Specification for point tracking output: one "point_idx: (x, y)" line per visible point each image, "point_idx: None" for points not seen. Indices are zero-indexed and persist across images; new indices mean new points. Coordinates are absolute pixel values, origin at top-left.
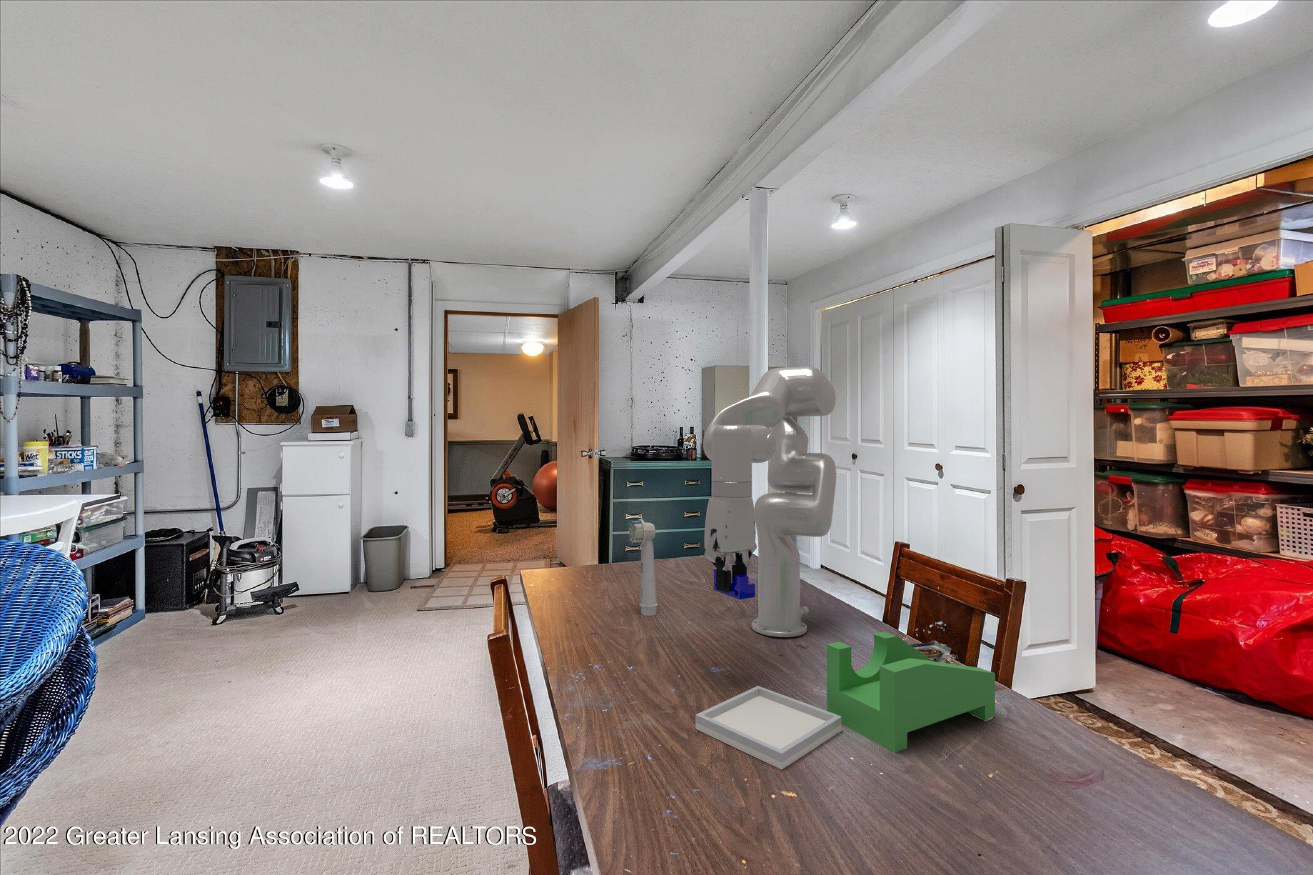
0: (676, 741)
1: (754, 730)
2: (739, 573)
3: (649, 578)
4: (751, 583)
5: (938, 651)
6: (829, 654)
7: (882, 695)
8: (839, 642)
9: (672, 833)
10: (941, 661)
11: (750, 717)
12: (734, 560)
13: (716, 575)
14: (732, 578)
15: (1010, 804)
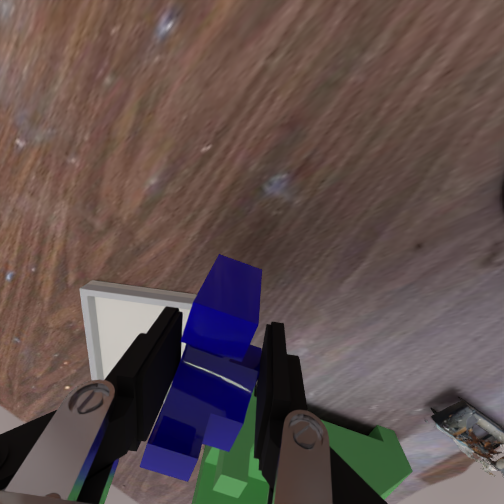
0: (54, 279)
1: (127, 343)
2: (258, 406)
3: None
4: (220, 443)
5: (493, 462)
6: (222, 459)
7: (198, 486)
8: (245, 483)
9: None
10: (468, 456)
11: (150, 326)
12: (281, 439)
13: (138, 345)
14: (267, 344)
15: (193, 494)
